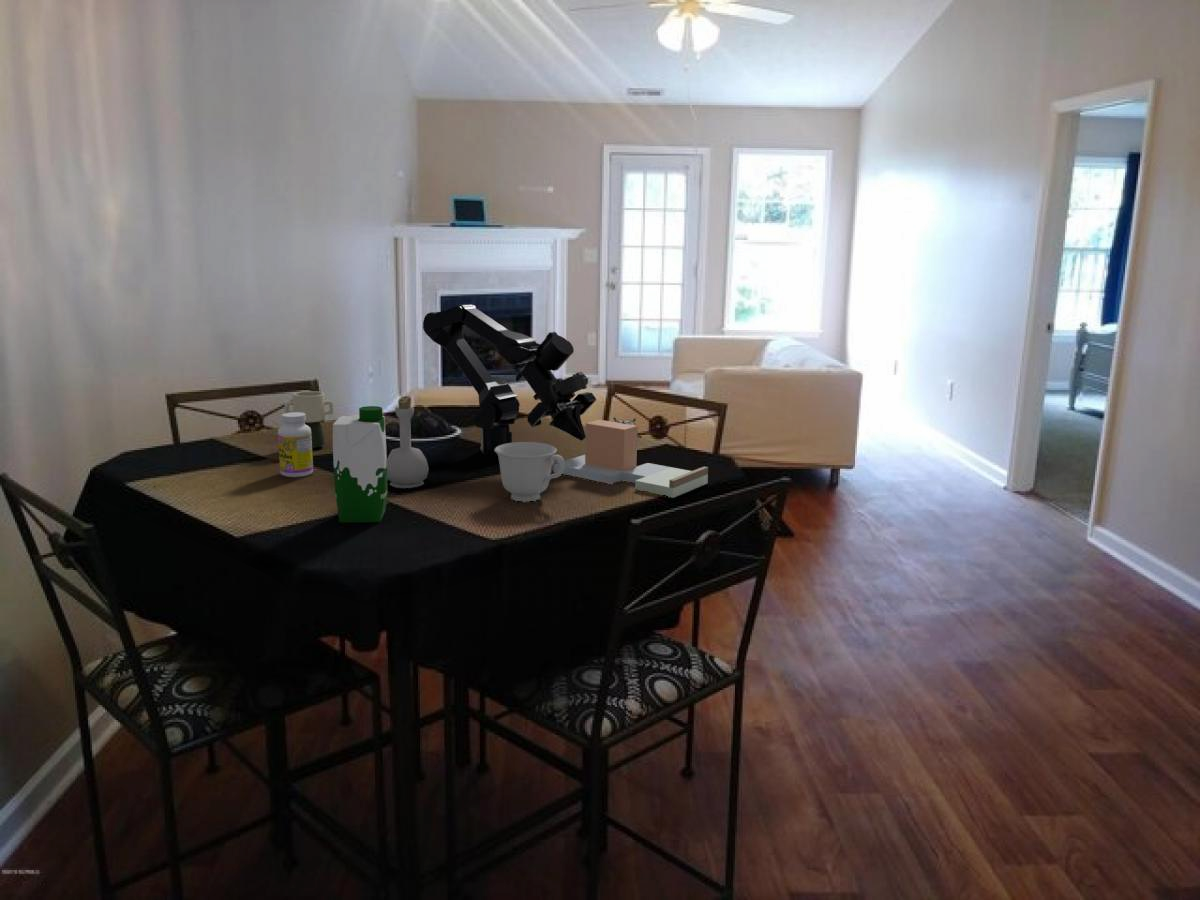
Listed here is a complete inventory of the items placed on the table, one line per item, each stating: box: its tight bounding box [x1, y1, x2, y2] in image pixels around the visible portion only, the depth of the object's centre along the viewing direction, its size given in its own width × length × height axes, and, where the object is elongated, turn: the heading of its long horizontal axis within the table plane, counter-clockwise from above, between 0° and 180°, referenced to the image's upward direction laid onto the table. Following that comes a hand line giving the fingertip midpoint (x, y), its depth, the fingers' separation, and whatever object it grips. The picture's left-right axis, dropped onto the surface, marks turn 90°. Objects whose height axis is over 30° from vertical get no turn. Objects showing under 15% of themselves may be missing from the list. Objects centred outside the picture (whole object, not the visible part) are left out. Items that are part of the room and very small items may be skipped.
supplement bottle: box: [277, 412, 314, 478], centre depth 195 cm, size 7×7×13 cm
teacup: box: [495, 441, 565, 503], centre depth 180 cm, size 12×15×10 cm
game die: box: [613, 416, 643, 441], centre depth 221 cm, size 9×8×10 cm
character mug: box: [284, 390, 335, 449], centre depth 218 cm, size 11×7×13 cm, turn 103°
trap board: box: [553, 454, 709, 499], centre depth 198 cm, size 30×14×4 cm, turn 55°
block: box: [584, 419, 639, 471], centre depth 199 cm, size 10×5×9 cm, turn 55°
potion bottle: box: [387, 395, 430, 489], centre depth 188 cm, size 9×9×18 cm
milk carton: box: [332, 405, 388, 523], centre depth 166 cm, size 9×9×20 cm
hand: (583, 439), depth 204 cm, fingers closed
